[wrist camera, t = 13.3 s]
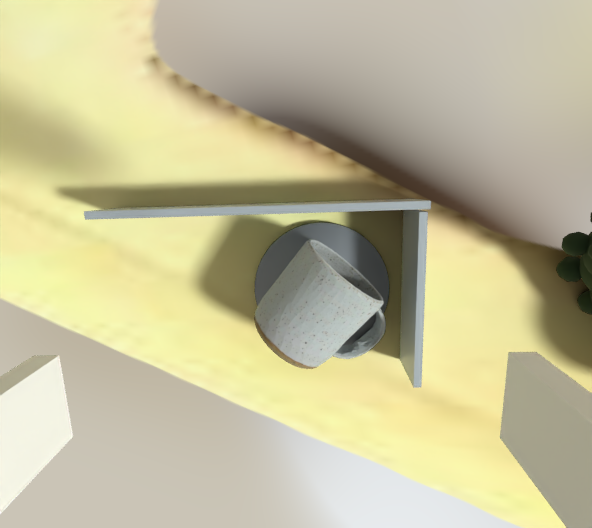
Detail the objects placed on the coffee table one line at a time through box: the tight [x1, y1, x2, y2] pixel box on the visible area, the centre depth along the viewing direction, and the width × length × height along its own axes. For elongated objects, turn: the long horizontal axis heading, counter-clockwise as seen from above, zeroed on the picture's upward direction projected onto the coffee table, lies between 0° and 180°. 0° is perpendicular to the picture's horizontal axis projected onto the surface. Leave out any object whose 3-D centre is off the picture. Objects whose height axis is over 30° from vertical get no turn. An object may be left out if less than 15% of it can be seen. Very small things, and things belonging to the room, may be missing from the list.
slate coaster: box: [255, 222, 389, 346], centre depth 33 cm, size 12×12×1 cm
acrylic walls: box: [84, 199, 431, 387], centre depth 31 cm, size 26×15×5 cm, turn 92°
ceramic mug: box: [254, 239, 386, 369], centre depth 30 cm, size 11×8×8 cm
